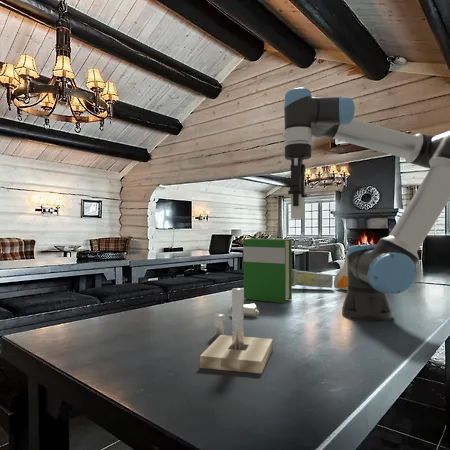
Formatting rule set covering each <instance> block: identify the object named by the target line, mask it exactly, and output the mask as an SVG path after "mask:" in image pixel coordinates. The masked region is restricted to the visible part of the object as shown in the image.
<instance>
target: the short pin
mask: <svg viewBox="0 0 450 450" xmlns="http://www.w3.org/2000/svg"><path fill="white" fill-rule="evenodd" d="M220 335H226V314H224V313H214V314H213V337H214V338H215V339H217V338H218V337H219V336H220Z"/></svg>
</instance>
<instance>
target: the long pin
mask: <svg viewBox="0 0 450 450" xmlns="http://www.w3.org/2000/svg"><path fill="white" fill-rule="evenodd" d="M244 301H245V299H244V287H236V288H235V287H234V288H232V289H231V306H232V314H231V320H232V321H231V329H232V331H231V334H232V335H231V336H232V349H233V350H244V337H245V335H244V334H245V331H244V330H245V327H244V326H245V323H244V322H245V318H244V317H245V316H244V305H245V303H244Z"/></svg>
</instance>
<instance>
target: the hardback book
mask: <svg viewBox="0 0 450 450" xmlns="http://www.w3.org/2000/svg"><path fill="white" fill-rule="evenodd" d="M242 240H243V241H242V243H243V245H242V246H243V247H242V248H243V253H242V254H243V255H242V258H243V259H242V261H243V289H244V300H253V301H262V302H263V301H264V302H270V303H271V302H273V303H278V304H279V303H281V304H286V303H287V300H289V301H291V300H292V301H293V292H292V291H293V286H292V269H293V267H292V266H293V265H292V261H293V259H292V258H293V257H292V253H293V251H292V247H293V246H292V238H244V239H242Z"/></svg>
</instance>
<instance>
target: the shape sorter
mask: <svg viewBox="0 0 450 450" xmlns="http://www.w3.org/2000/svg"><path fill="white" fill-rule="evenodd" d="M347 254H348V251H346V253H345V256H344V261H343V265H342V268H340V270H339V271H338V272H337V273H336V274H335V275H334V278H333V288H334V289H338V290H345V291H346V290H347V291H348V274H347Z"/></svg>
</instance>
